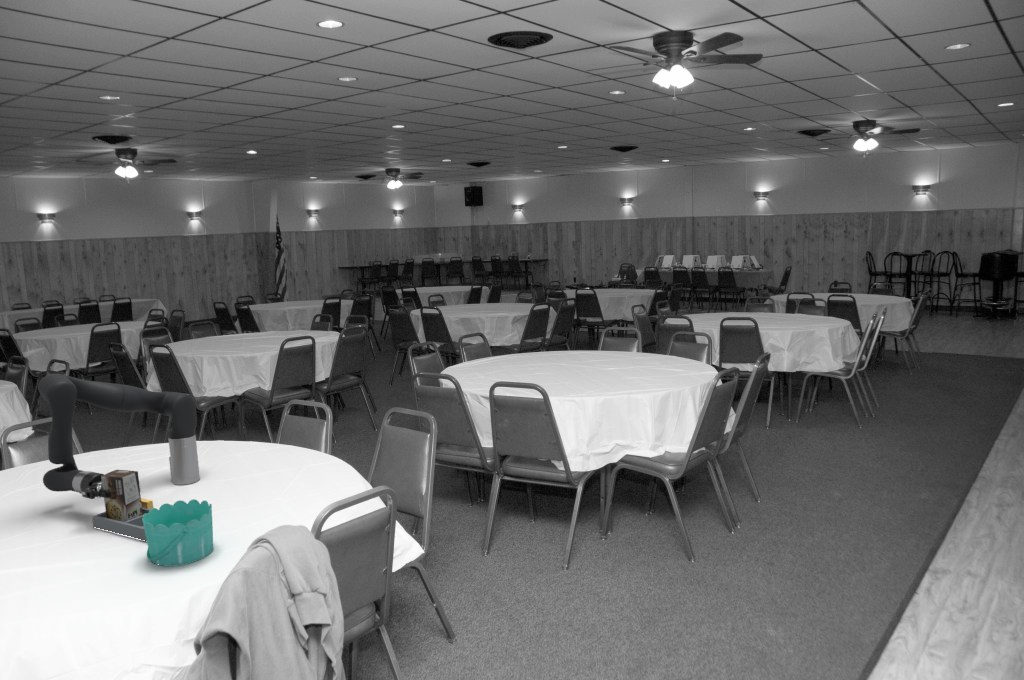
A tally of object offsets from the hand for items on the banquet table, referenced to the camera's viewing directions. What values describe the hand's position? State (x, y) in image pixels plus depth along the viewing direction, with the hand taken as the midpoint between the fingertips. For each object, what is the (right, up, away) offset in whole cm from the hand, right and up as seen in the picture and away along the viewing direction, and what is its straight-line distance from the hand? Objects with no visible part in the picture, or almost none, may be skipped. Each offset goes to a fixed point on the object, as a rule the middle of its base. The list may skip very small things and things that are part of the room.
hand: (121, 490), depth 246 cm
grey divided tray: (+7, -12, -1) cm, 14 cm away
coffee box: (0, -11, +2) cm, 11 cm away
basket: (+28, -14, -22) cm, 39 cm away
